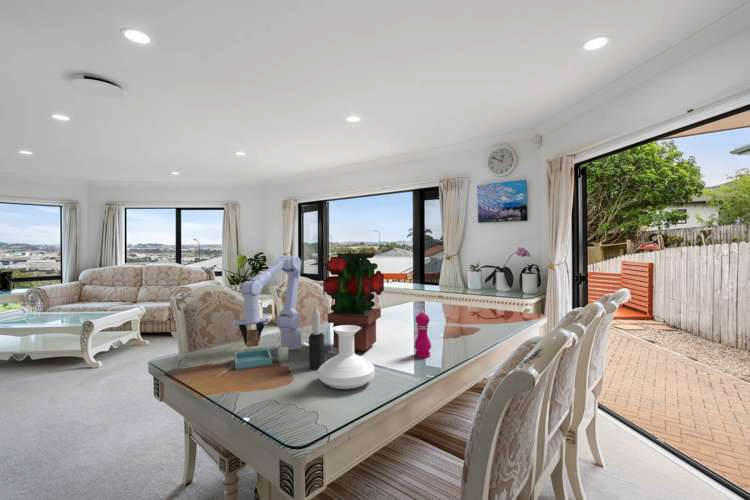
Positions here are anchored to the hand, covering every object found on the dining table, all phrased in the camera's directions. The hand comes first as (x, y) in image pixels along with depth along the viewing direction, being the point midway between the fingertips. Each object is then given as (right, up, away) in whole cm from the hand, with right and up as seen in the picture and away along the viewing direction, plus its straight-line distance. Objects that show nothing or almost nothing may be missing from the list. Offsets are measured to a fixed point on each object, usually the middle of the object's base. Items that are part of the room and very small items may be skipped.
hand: (251, 341), depth 148 cm
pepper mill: (+73, -8, +6) cm, 74 cm away
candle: (+29, -8, -8) cm, 31 cm away
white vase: (+42, -9, -24) cm, 49 cm away
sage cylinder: (+13, -8, +2) cm, 15 cm away
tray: (+1, -8, -1) cm, 8 cm away
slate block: (+5, -9, +10) cm, 14 cm away
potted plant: (+43, -8, +18) cm, 47 cm away
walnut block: (0, -2, 0) cm, 2 cm away
